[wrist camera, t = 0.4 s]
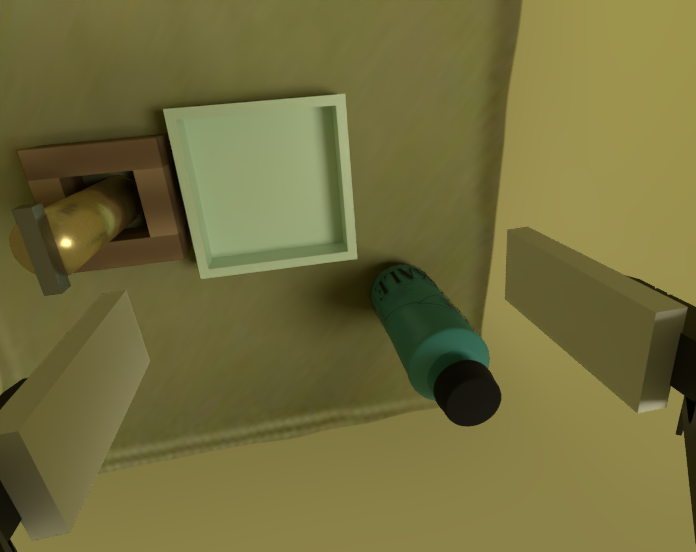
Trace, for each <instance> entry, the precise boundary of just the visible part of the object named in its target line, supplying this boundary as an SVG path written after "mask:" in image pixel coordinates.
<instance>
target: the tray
mask: <svg viewBox="0 0 696 552" xmlns="http://www.w3.org/2000/svg"><path fill="white" fill-rule="evenodd" d="M163 112H164V117H165V121H166V126H167V130H168V135H169V139H170V144H171V148H172V152H173V157H174V161H175V166H176V170H177V175H178V179H179V184H180V188H181V193H182V197H183V202H184V206H185V210H186V215H187V219H188V224H189V228H190V233H191V237H192V242H193V246H194V251H195V255H196V260H197V264H198V268H199V273H200V277H201V279H205V278H213V277H221V276H228V275H236V274H244V273H252V272H259V271H267V270H275V269H283V268H290V267H298V266H306V265H313V264H321V263H329V262H337V261H344V260H352V259H357V247H356V234H355V220H354V207H353V193H352V180H351V167H350V153H349V140H348V126H347V113H346V100H345V94H336V95H325V96H313V97H301V98H289V99H277V100H266V101H254V102H242V103H230V104H218V105H207V106H195V107H183V108H171V109H163Z"/></svg>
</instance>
